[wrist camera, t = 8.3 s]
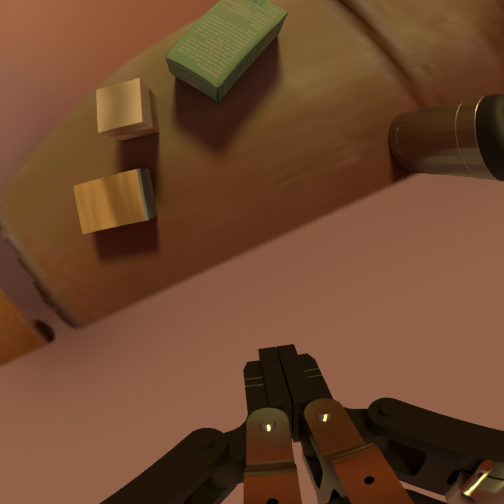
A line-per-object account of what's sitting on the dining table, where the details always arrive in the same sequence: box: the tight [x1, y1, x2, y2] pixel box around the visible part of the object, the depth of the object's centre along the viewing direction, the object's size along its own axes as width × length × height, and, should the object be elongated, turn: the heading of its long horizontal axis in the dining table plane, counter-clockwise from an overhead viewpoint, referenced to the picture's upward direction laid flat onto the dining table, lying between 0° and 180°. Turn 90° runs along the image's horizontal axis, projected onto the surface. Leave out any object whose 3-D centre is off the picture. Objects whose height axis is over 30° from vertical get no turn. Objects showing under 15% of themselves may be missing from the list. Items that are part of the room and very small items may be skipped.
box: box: [166, 0, 288, 102], centre depth 27 cm, size 7×14×8 cm, turn 145°
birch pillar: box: [97, 78, 159, 140], centre depth 28 cm, size 5×5×8 cm
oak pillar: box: [74, 168, 157, 234], centre depth 32 cm, size 4×6×9 cm
